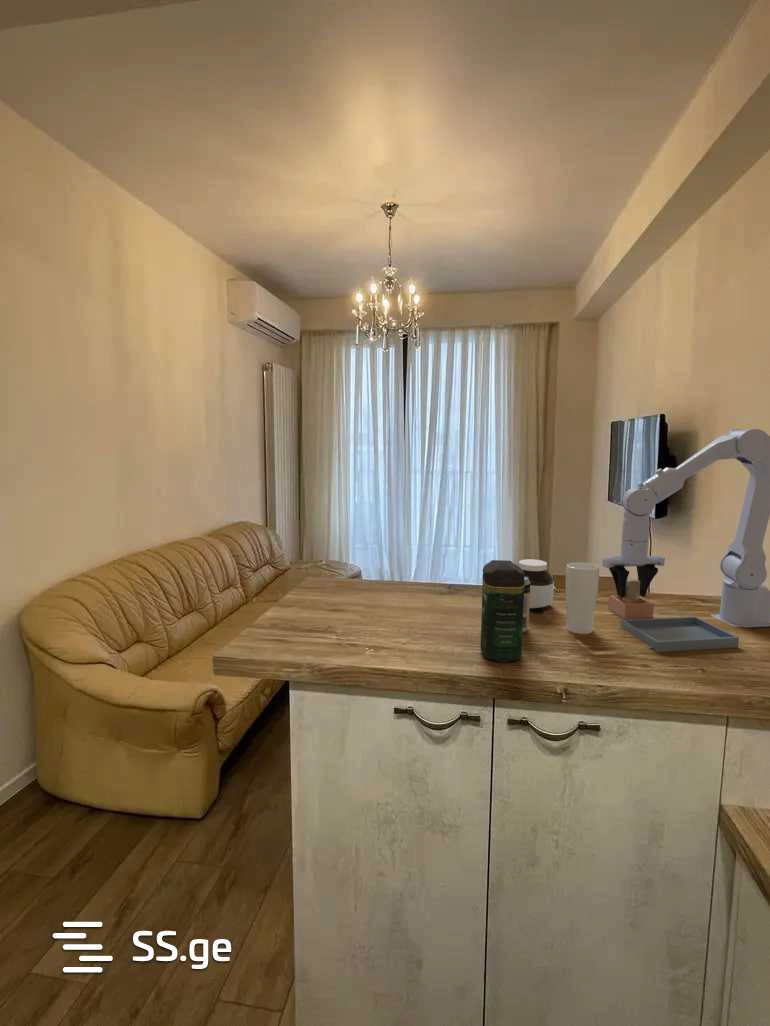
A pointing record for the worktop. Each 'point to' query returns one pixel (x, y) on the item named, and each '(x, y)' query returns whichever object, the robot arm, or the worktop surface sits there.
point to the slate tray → (680, 634)
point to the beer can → (526, 605)
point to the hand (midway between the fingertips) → (631, 595)
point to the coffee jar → (502, 611)
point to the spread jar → (538, 584)
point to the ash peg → (632, 591)
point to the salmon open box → (631, 608)
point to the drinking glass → (581, 596)
